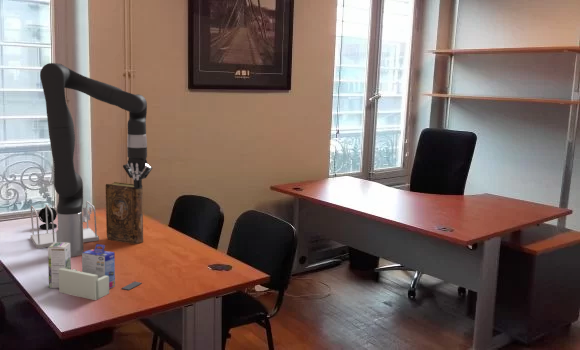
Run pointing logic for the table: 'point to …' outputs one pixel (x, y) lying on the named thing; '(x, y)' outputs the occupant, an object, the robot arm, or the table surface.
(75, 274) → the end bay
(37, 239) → the file sorter
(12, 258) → the table surface
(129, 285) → the pad
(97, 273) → the ink cartridge box
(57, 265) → the syrup box
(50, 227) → the webcam
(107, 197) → the book
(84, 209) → the architectural model
